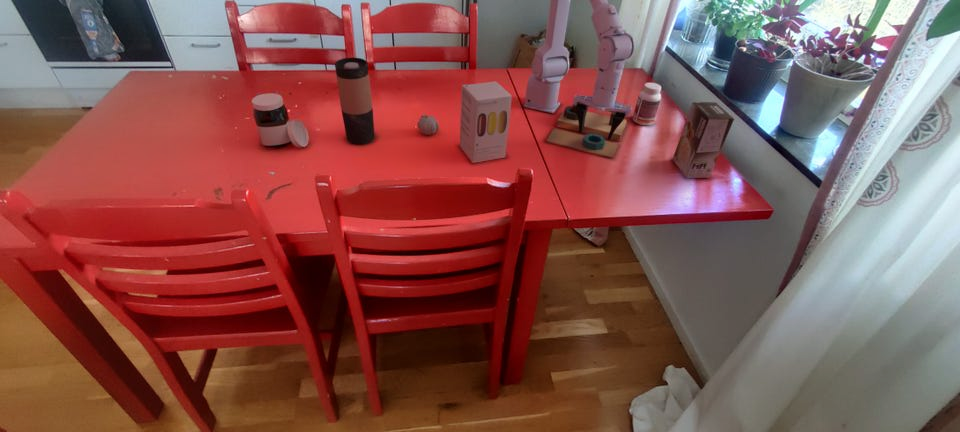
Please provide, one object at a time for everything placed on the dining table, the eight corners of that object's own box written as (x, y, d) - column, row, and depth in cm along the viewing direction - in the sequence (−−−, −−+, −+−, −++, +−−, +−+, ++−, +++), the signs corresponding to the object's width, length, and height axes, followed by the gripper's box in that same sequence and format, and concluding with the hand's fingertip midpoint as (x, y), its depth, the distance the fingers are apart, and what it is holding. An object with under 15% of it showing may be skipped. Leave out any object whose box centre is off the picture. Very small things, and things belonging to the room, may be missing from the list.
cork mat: (545, 141, 124) (545, 140, 123) (554, 129, 129) (554, 128, 129) (612, 158, 119) (612, 157, 118) (617, 144, 124) (618, 143, 124)
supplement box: (472, 164, 113) (475, 100, 103) (458, 146, 120) (459, 84, 109) (506, 157, 116) (513, 95, 106) (491, 140, 123) (496, 79, 112)
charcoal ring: (561, 117, 131) (562, 111, 130) (567, 109, 135) (568, 104, 134) (580, 122, 129) (582, 116, 128) (585, 114, 134) (586, 108, 132)
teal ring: (580, 146, 122) (581, 140, 121) (585, 137, 126) (586, 131, 125) (601, 152, 120) (602, 146, 119) (605, 142, 124) (607, 136, 123)
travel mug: (380, 134, 122) (373, 60, 110) (366, 148, 117) (356, 71, 104) (355, 128, 124) (345, 55, 112) (340, 141, 118) (327, 65, 106)
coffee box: (710, 178, 113) (736, 119, 103) (685, 178, 113) (709, 119, 103) (694, 158, 121) (716, 101, 110) (670, 158, 120) (691, 101, 110)
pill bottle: (657, 123, 136) (669, 87, 129) (643, 127, 133) (654, 91, 126) (641, 114, 140) (651, 79, 133) (627, 119, 137) (637, 83, 130)
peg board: (556, 126, 131) (559, 108, 127) (565, 112, 138) (568, 95, 135) (619, 141, 126) (624, 123, 122) (625, 126, 133) (630, 109, 130)
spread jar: (260, 135, 119) (248, 92, 112) (306, 128, 123) (297, 87, 116) (263, 158, 111) (250, 114, 103) (312, 150, 114) (303, 107, 107)
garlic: (413, 134, 123) (412, 117, 120) (422, 126, 127) (421, 108, 124) (433, 139, 122) (433, 121, 118) (442, 130, 126) (442, 113, 122)
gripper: (573, 85, 112) (564, 134, 120) (633, 98, 108) (619, 148, 116) (581, 75, 117) (571, 123, 125) (638, 87, 113) (624, 136, 121)
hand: (595, 134), depth 121 cm, fingers open, 7 cm apart
